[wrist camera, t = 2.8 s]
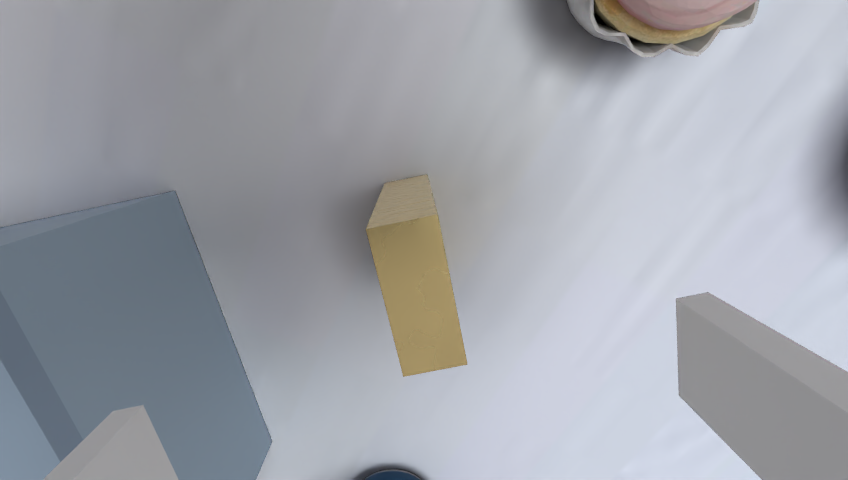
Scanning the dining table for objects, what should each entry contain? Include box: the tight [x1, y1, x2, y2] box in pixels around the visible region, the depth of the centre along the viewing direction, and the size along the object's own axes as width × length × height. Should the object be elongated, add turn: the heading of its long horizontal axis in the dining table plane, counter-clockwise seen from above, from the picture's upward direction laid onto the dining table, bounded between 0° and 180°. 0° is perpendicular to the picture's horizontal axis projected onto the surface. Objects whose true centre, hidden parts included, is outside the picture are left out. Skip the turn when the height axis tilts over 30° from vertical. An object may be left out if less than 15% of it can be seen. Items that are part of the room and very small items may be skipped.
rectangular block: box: [366, 174, 467, 377], centre depth 20 cm, size 6×2×10 cm, turn 12°
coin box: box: [0, 191, 272, 480], centre depth 20 cm, size 18×14×12 cm
